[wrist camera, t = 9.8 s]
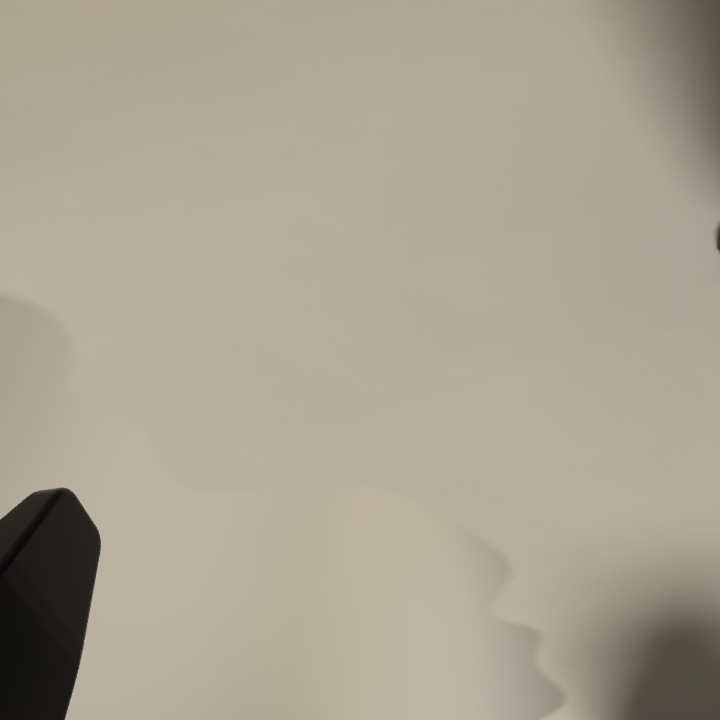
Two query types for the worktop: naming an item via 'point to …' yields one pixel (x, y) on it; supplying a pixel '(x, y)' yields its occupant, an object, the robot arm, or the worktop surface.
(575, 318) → the worktop surface
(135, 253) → the worktop surface
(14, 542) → the robot arm
